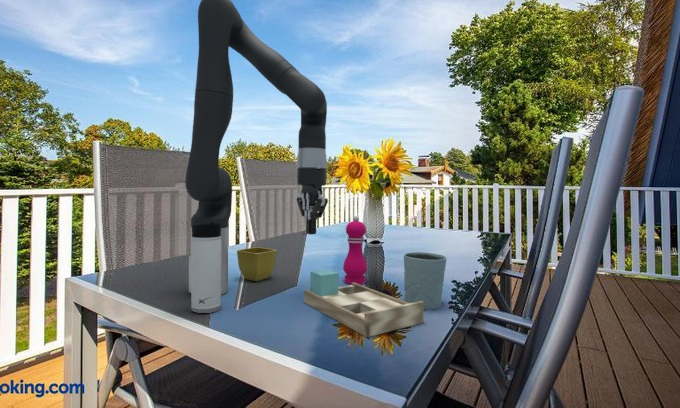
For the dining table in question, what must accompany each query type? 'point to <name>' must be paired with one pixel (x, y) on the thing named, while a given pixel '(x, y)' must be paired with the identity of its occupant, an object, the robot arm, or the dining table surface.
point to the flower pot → (256, 262)
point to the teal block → (324, 282)
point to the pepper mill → (355, 253)
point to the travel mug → (206, 268)
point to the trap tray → (367, 309)
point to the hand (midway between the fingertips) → (311, 233)
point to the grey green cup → (424, 278)
